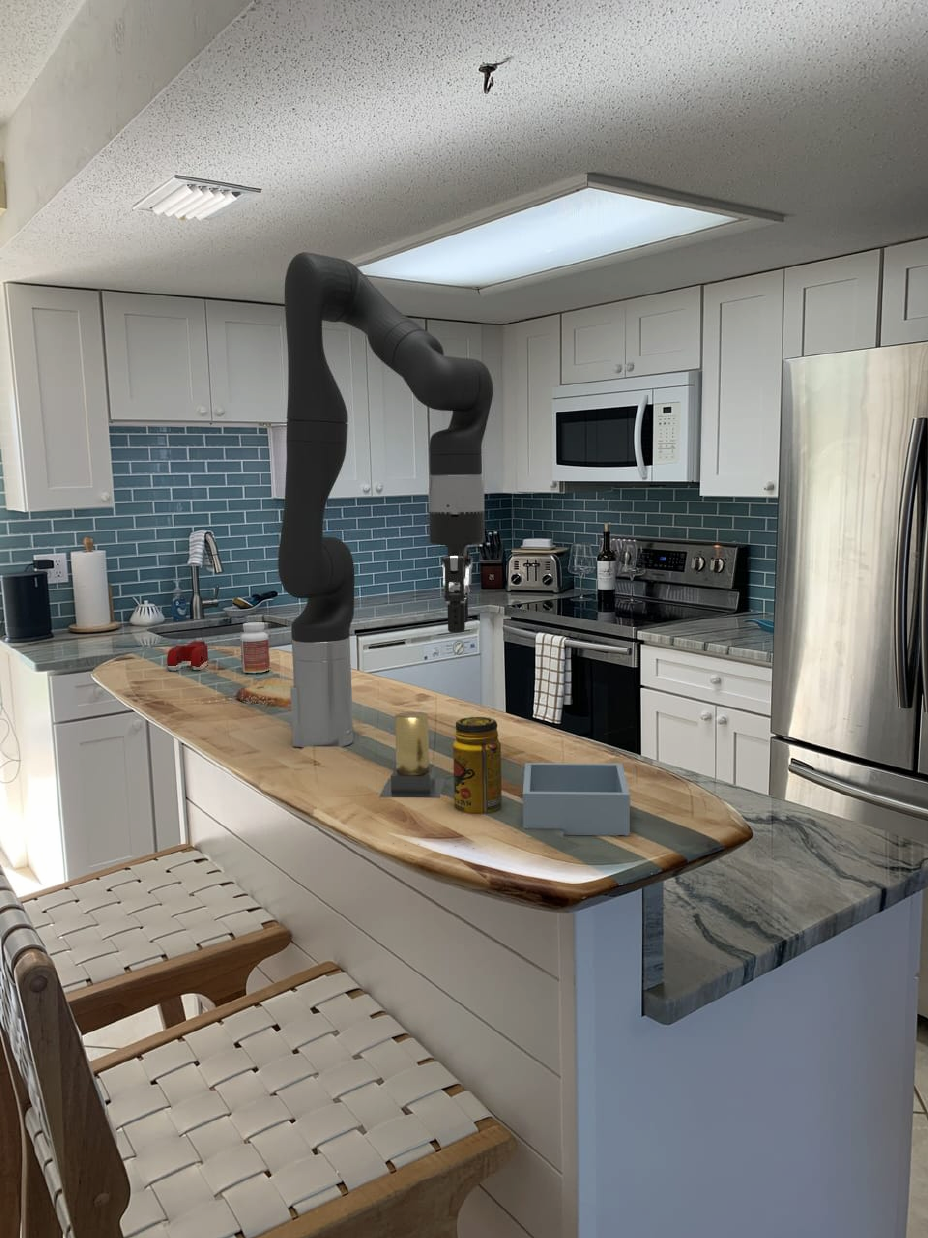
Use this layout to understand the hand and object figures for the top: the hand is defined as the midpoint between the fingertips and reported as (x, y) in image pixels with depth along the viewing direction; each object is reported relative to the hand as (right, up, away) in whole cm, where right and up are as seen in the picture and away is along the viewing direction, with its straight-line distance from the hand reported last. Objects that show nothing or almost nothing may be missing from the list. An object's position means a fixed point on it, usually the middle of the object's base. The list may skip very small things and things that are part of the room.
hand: (458, 627), depth 134 cm
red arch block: (-63, -10, +93) cm, 113 cm away
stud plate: (-6, -23, -2) cm, 23 cm away
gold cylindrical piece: (-6, -22, -2) cm, 23 cm away
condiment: (+3, -24, -9) cm, 26 cm away
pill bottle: (-46, -11, +84) cm, 96 cm away
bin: (+15, -24, -12) cm, 30 cm away
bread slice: (-34, -15, +57) cm, 68 cm away
